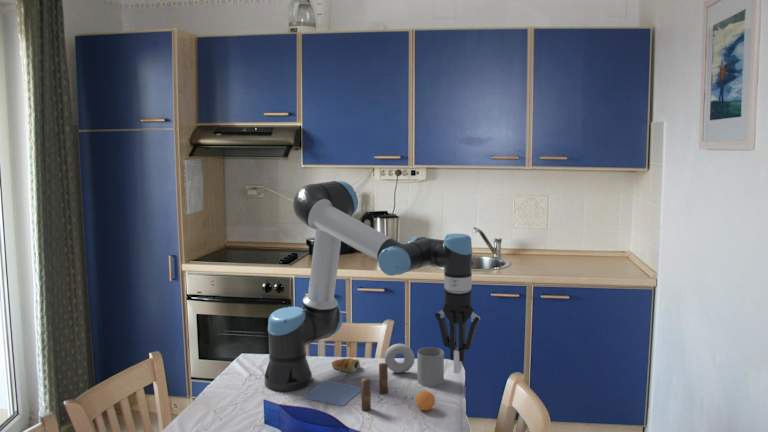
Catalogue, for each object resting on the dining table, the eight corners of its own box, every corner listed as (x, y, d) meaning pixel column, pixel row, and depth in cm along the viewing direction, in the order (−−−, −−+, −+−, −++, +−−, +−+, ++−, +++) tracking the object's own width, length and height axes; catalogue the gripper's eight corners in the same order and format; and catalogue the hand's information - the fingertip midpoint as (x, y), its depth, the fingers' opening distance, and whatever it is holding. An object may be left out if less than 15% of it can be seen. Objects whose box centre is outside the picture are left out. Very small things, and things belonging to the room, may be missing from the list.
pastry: (328, 370, 223) (327, 359, 223) (337, 363, 229) (336, 353, 229) (353, 374, 220) (353, 363, 219) (361, 367, 226) (361, 356, 225)
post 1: (360, 410, 192) (359, 380, 191) (364, 406, 195) (363, 377, 193) (368, 411, 191) (368, 382, 190) (372, 408, 194) (371, 378, 192)
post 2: (377, 393, 204) (377, 365, 202) (381, 390, 206) (381, 362, 205) (385, 394, 203) (385, 366, 201) (389, 391, 205) (388, 363, 204)
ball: (412, 412, 191) (412, 393, 190) (419, 404, 196) (419, 386, 195) (430, 415, 189) (431, 397, 188) (437, 407, 194) (437, 389, 193)
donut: (414, 370, 222) (414, 342, 220) (414, 374, 218) (414, 345, 217) (384, 370, 222) (384, 341, 221) (384, 374, 219) (384, 345, 217)
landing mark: (302, 398, 201) (302, 397, 201) (324, 381, 213) (324, 380, 213) (343, 405, 195) (343, 405, 195) (363, 388, 208) (363, 387, 208)
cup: (441, 387, 208) (442, 357, 206) (415, 385, 209) (415, 355, 208) (444, 377, 216) (445, 348, 214) (419, 375, 218) (419, 346, 216)
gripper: (431, 291, 182) (431, 372, 186) (477, 295, 177) (476, 379, 181) (439, 284, 189) (440, 363, 192) (484, 288, 184) (483, 370, 187)
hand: (457, 371), depth 187 cm, fingers closed
